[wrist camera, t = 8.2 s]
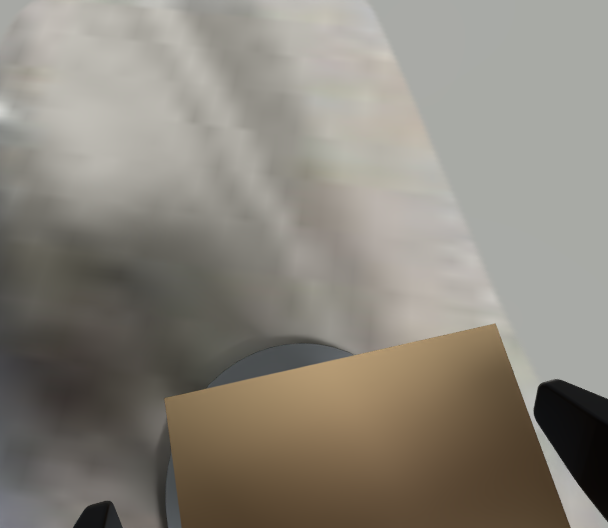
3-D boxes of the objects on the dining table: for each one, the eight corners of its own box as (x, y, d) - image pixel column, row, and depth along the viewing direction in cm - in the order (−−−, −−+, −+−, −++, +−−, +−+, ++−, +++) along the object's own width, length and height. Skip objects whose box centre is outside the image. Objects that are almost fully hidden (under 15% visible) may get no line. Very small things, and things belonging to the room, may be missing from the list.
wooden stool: (402, 546, 16) (641, 720, 7) (237, 598, 15) (231, 905, 5) (358, 379, 18) (495, 323, 8) (208, 415, 17) (163, 397, 7)
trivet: (478, 468, 18) (485, 470, 18) (309, 714, 15) (312, 724, 14) (298, 297, 20) (300, 294, 19) (109, 486, 16) (104, 488, 16)
